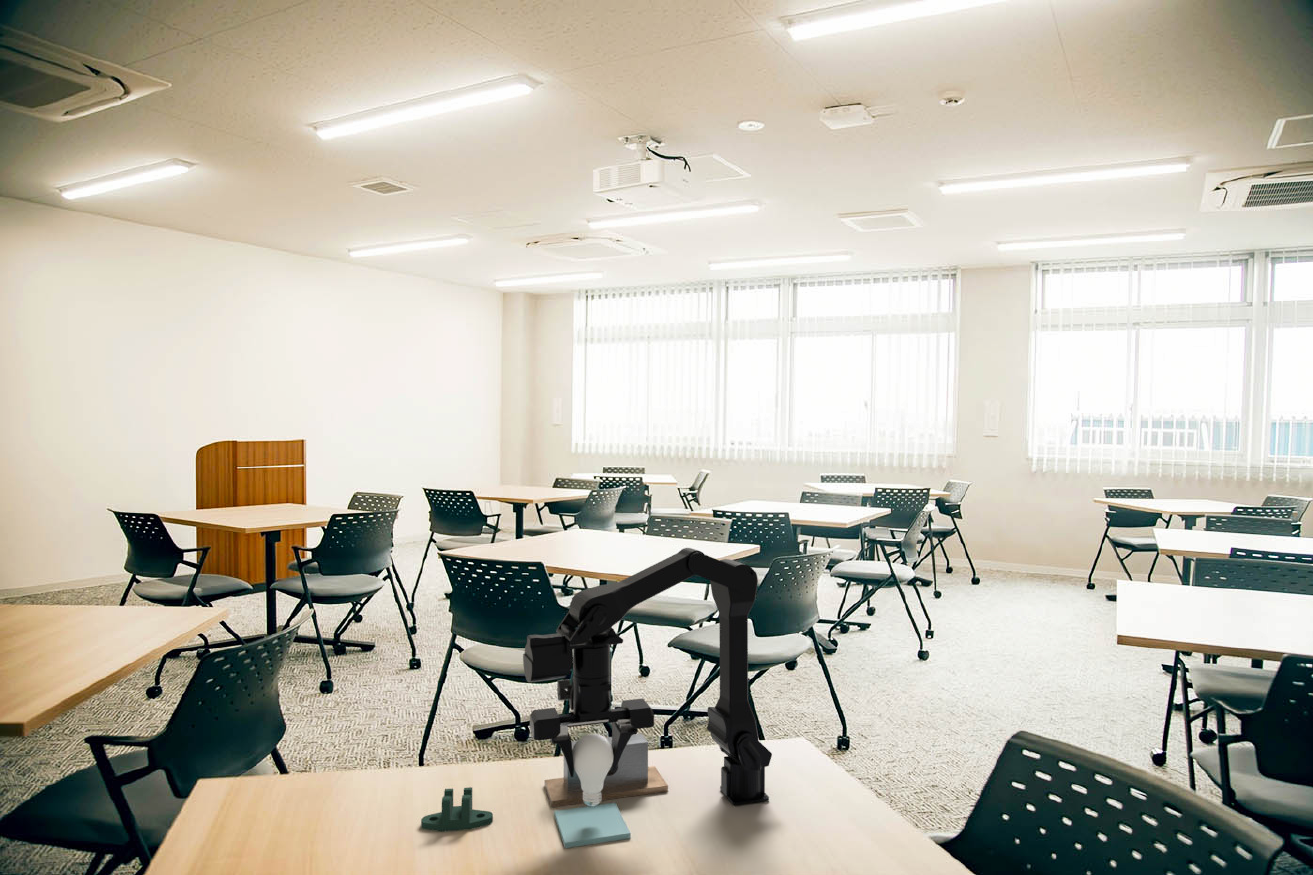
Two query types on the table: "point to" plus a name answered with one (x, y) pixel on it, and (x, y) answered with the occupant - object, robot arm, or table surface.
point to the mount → (457, 815)
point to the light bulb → (592, 765)
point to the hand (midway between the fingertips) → (592, 773)
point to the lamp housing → (612, 777)
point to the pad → (591, 825)
